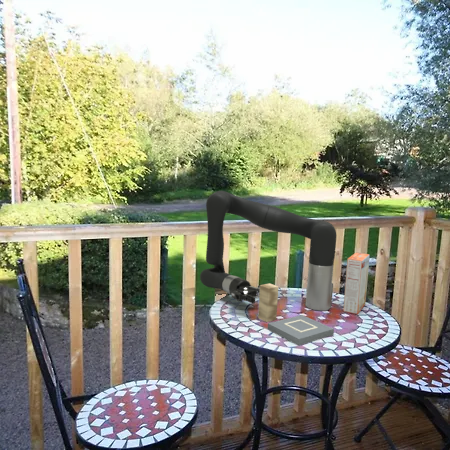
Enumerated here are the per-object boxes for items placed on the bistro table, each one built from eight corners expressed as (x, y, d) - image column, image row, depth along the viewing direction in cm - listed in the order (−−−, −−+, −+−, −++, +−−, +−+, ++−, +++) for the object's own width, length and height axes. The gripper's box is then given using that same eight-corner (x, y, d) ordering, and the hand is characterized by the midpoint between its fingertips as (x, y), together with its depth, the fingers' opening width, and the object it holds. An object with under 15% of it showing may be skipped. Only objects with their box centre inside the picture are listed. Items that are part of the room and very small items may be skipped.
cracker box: (350, 301, 165) (355, 251, 162) (365, 305, 162) (370, 254, 159) (341, 311, 153) (346, 257, 150) (358, 315, 150) (363, 260, 147)
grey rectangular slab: (301, 320, 142) (302, 314, 141) (333, 334, 131) (334, 328, 130) (267, 329, 132) (267, 322, 132) (298, 345, 121) (299, 338, 121)
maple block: (267, 315, 145) (269, 283, 143) (276, 319, 141) (278, 286, 139) (258, 317, 142) (260, 285, 140) (266, 322, 138) (268, 288, 137)
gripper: (221, 279, 151) (248, 291, 138) (251, 275, 159) (279, 286, 146) (220, 298, 152) (247, 312, 139) (250, 293, 160) (278, 305, 147)
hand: (263, 298), depth 143 cm, fingers open, 8 cm apart
